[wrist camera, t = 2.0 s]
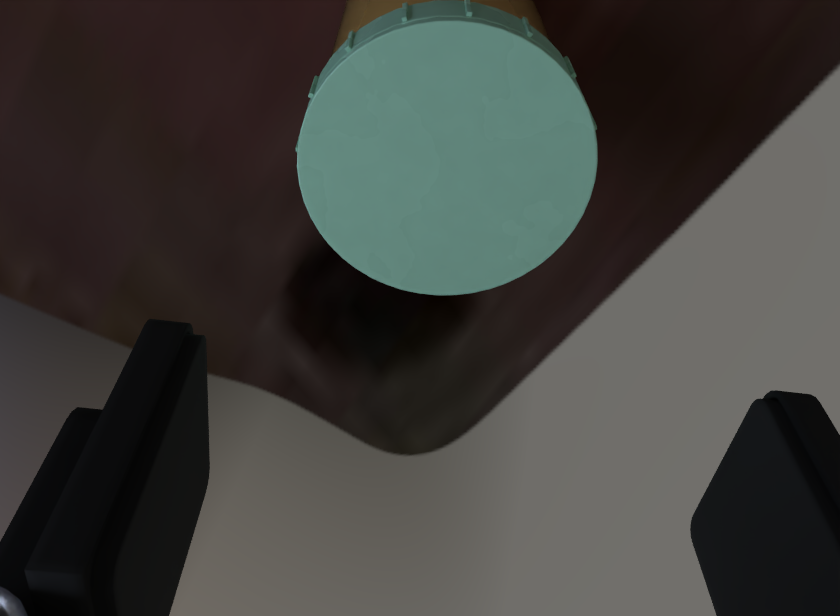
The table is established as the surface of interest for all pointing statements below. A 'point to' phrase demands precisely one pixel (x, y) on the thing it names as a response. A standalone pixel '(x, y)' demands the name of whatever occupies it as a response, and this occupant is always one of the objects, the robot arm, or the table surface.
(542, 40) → the lid
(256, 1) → the table surface
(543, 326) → the table surface
